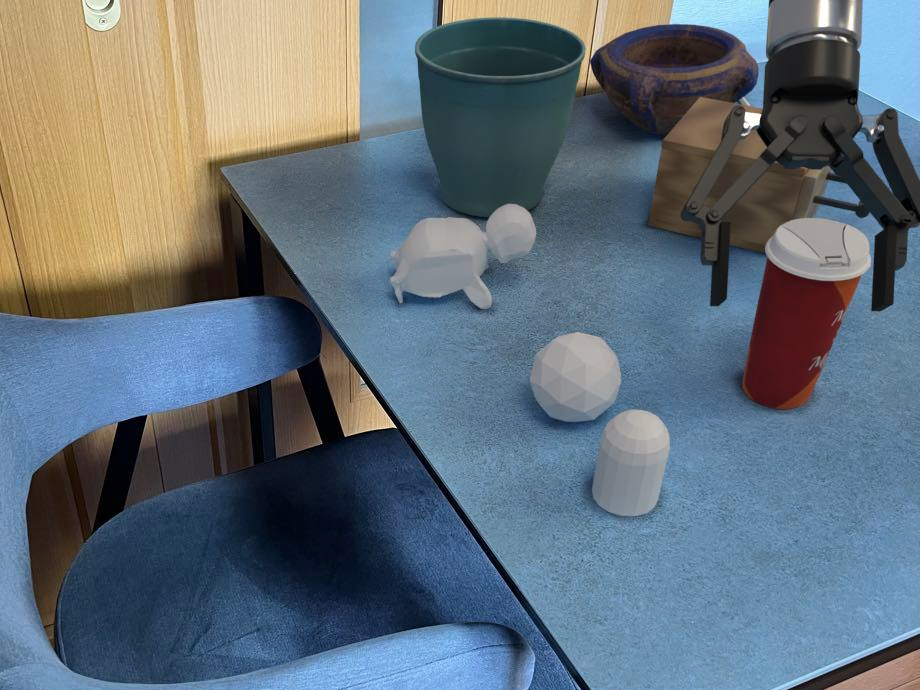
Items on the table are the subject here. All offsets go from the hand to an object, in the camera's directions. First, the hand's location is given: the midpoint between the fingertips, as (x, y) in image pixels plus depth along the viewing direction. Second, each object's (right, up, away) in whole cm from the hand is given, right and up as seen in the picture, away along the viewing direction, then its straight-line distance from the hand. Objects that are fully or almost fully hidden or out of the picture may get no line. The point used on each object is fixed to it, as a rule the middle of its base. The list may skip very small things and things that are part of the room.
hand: (799, 305), depth 88 cm
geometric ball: (-19, -9, +4) cm, 21 cm away
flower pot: (-23, +20, +34) cm, 46 cm away
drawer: (+8, +16, +27) cm, 32 cm away
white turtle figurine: (-27, +6, +19) cm, 34 cm away
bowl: (+1, +35, +47) cm, 59 cm away
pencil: (+13, +35, +48) cm, 61 cm away
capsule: (-16, -16, -4) cm, 23 cm away
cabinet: (+4, +17, +29) cm, 34 cm away
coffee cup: (0, -6, +6) cm, 9 cm away
